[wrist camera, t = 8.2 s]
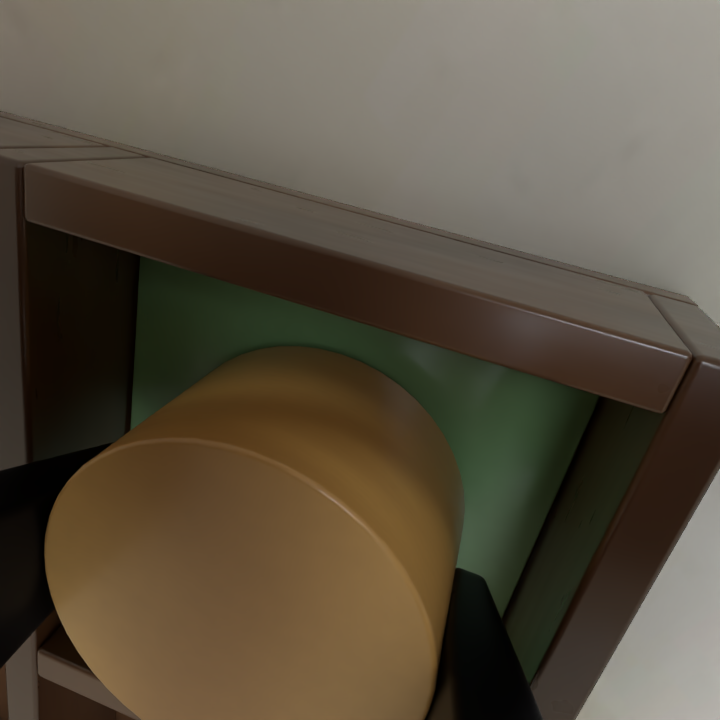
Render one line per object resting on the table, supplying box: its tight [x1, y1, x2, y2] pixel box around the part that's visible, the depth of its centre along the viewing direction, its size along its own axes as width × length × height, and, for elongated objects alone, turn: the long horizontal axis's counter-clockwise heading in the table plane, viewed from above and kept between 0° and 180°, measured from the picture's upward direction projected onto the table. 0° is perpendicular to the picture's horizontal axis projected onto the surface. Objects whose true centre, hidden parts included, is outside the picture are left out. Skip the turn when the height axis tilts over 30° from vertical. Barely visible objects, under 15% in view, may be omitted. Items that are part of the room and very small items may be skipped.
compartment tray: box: [0, 111, 720, 720], centre depth 11 cm, size 17×17×3 cm
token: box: [44, 346, 465, 720], centre depth 8 cm, size 5×5×3 cm
